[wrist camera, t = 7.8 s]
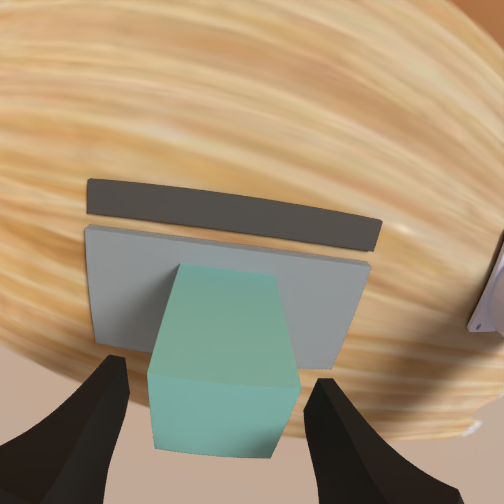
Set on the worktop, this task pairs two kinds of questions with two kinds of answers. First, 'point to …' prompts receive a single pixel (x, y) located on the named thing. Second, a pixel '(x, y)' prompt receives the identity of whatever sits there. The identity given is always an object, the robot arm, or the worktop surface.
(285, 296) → the mat
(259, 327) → the block
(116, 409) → the robot arm
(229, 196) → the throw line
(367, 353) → the worktop surface
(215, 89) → the worktop surface
